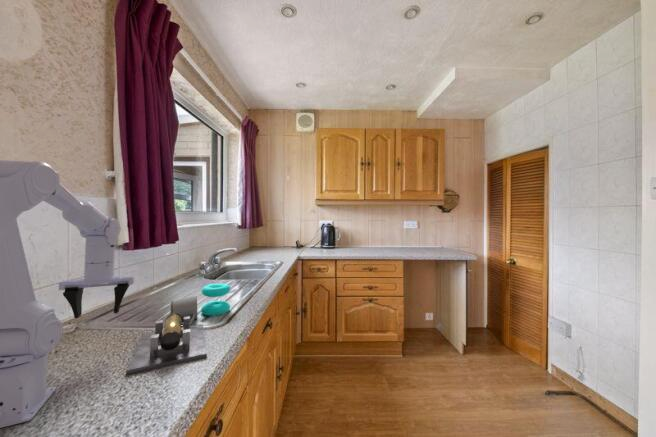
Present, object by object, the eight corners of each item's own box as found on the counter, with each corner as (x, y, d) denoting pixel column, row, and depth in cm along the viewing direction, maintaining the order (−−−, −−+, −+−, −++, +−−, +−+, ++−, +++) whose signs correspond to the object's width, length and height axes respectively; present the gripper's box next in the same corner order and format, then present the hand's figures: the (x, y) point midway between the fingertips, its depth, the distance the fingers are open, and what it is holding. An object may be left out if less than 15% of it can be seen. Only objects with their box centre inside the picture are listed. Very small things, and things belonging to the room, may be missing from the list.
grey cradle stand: (206, 357, 63) (207, 335, 63) (125, 375, 55) (126, 349, 55) (202, 327, 81) (203, 310, 81) (141, 337, 74) (142, 318, 74)
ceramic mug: (170, 318, 89) (171, 296, 89) (196, 314, 93) (197, 293, 93) (169, 329, 80) (170, 305, 80) (198, 324, 84) (199, 301, 84)
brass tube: (179, 348, 62) (180, 331, 63) (159, 351, 60) (160, 334, 61) (181, 326, 76) (182, 312, 76) (165, 328, 74) (166, 313, 74)
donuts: (227, 288, 92) (198, 289, 90) (227, 315, 92) (197, 317, 90) (232, 282, 102) (205, 283, 100) (231, 307, 101) (205, 308, 99)
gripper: (136, 258, 73) (135, 306, 72) (68, 261, 66) (66, 314, 65) (132, 262, 67) (130, 313, 66) (55, 265, 60) (53, 323, 59)
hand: (97, 314), depth 65 cm, fingers open, 7 cm apart
